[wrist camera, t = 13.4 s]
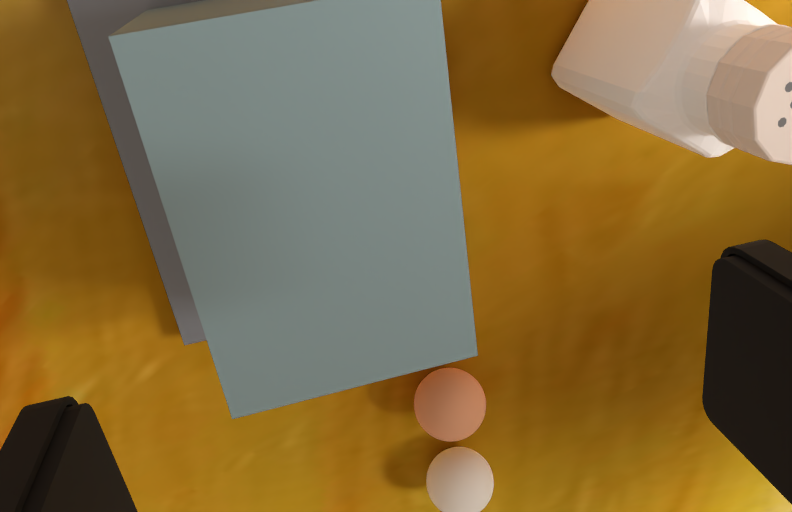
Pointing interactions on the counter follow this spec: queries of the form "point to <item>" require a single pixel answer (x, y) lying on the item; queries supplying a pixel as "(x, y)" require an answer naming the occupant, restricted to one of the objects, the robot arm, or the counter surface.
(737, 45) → the pepper shaker
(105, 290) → the counter surface
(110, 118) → the plate
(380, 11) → the sage green block
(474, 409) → the terracotta ball
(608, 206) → the counter surface
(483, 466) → the cream ball
